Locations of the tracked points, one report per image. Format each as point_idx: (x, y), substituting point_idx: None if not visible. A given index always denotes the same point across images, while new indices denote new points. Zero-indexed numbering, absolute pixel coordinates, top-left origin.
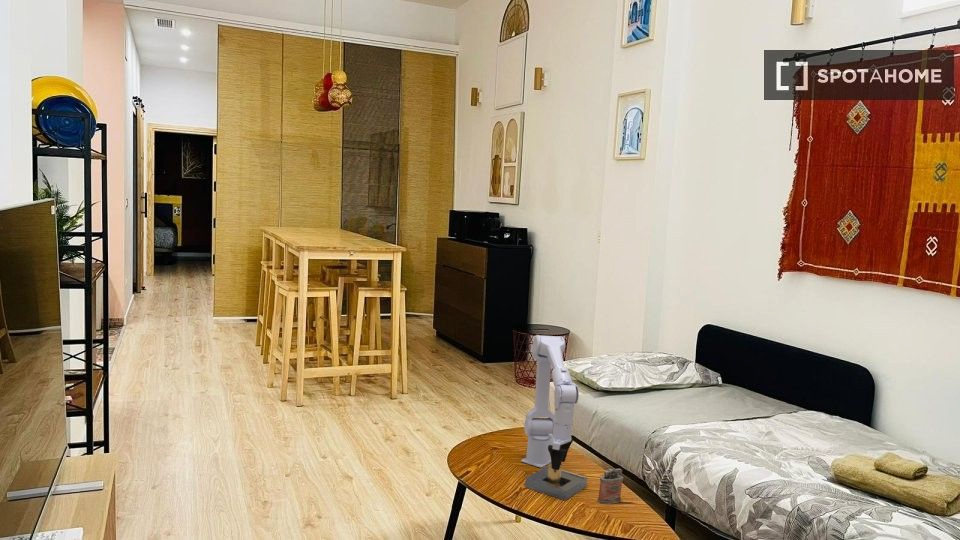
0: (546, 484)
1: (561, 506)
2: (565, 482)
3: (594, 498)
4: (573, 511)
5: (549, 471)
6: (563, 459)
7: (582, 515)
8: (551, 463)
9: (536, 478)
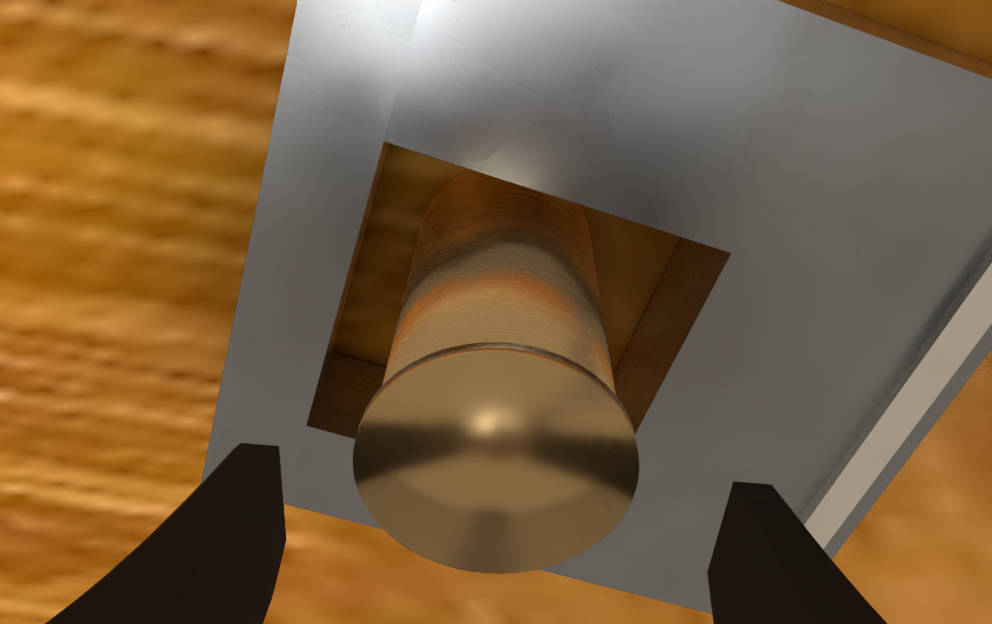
0: (252, 238)
1: (62, 388)
2: (627, 405)
3: (473, 618)
4: (33, 495)
5: (416, 319)
6: (718, 602)
7: (10, 563)
8: (184, 501)
9: (411, 46)
